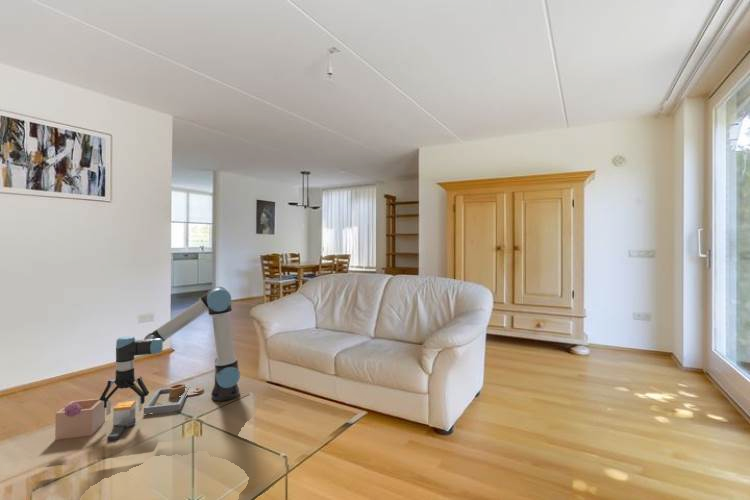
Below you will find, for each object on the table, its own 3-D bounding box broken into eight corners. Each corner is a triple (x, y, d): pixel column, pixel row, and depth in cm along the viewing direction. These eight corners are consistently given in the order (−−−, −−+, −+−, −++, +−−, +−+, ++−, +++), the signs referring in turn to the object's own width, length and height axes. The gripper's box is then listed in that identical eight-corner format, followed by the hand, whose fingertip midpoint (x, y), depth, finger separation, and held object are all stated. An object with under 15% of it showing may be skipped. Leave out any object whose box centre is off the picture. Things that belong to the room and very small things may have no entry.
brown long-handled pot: (168, 402, 201) (168, 390, 201) (170, 397, 209) (169, 385, 209) (203, 395, 208) (202, 383, 208) (204, 390, 216) (203, 379, 216)
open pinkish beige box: (105, 421, 177) (105, 397, 178) (92, 435, 164) (92, 409, 164) (71, 425, 173) (71, 401, 173) (55, 439, 160) (55, 413, 160)
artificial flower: (86, 423, 172) (74, 418, 153) (70, 419, 170) (56, 414, 151) (95, 409, 176) (84, 402, 156) (80, 405, 174) (67, 398, 155)
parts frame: (190, 392, 215) (190, 386, 215) (180, 411, 189) (180, 404, 189) (158, 395, 210) (158, 389, 210) (143, 415, 184) (143, 408, 184)
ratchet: (138, 420, 179) (138, 404, 179) (124, 439, 161) (124, 421, 161) (117, 423, 176) (117, 406, 176) (100, 442, 158) (100, 424, 158)
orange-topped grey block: (135, 416, 178) (135, 400, 178) (130, 423, 171) (130, 406, 171) (119, 418, 175) (119, 402, 176) (113, 425, 169) (113, 408, 169)
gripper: (156, 364, 181) (155, 405, 180) (98, 368, 173) (97, 412, 173) (151, 368, 174) (151, 412, 173) (91, 373, 166) (90, 419, 166)
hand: (124, 412), depth 173 cm, fingers open, 13 cm apart
